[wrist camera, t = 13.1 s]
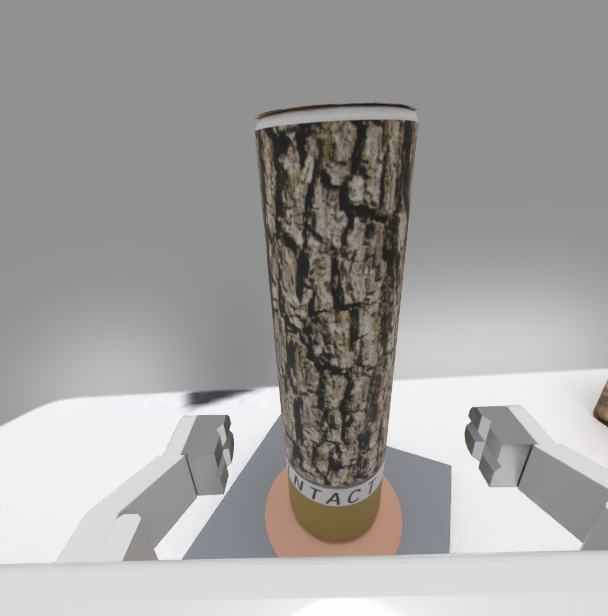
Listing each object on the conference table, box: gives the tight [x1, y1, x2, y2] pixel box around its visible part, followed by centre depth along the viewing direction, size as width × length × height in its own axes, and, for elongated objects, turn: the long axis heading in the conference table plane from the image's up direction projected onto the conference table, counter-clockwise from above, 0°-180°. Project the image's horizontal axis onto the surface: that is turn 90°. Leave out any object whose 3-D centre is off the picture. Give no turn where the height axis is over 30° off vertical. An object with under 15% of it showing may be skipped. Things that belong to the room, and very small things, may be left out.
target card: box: [183, 415, 451, 560], centre depth 24 cm, size 16×14×1 cm
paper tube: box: [255, 102, 419, 540], centre depth 19 cm, size 7×7×25 cm
